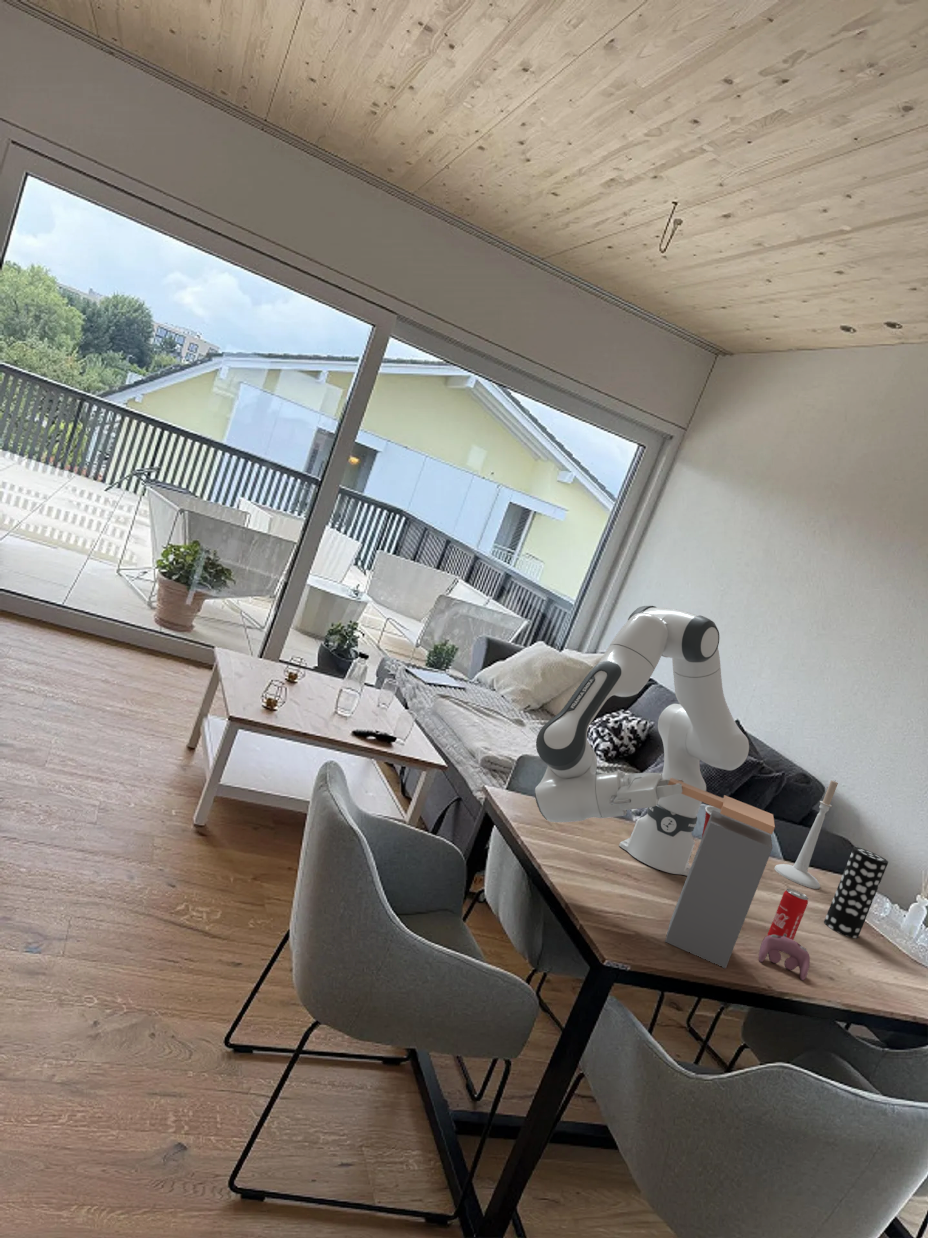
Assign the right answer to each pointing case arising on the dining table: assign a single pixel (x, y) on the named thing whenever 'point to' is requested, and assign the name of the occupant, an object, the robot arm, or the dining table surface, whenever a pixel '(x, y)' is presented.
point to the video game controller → (786, 945)
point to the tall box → (719, 888)
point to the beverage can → (789, 914)
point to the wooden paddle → (731, 807)
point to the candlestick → (808, 847)
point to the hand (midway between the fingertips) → (682, 785)
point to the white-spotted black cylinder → (855, 892)
